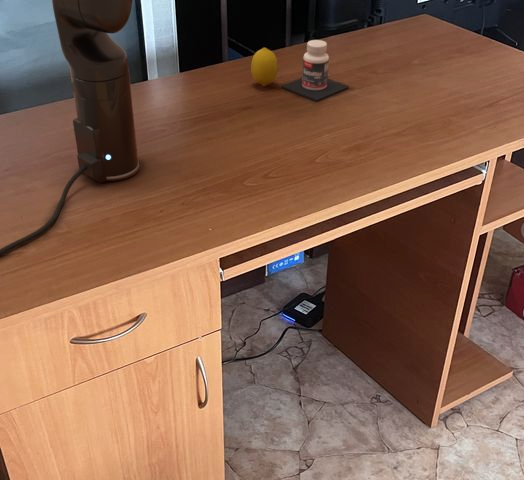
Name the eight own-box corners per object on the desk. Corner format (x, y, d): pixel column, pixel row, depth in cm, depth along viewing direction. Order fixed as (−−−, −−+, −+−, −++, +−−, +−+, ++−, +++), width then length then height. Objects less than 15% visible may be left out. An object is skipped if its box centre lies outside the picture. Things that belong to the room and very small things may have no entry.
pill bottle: (298, 88, 163) (300, 45, 157) (306, 79, 167) (308, 37, 161) (323, 92, 162) (325, 49, 156) (330, 83, 165) (332, 40, 160)
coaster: (316, 101, 159) (316, 99, 159) (281, 87, 164) (281, 85, 164) (348, 88, 164) (348, 86, 164) (313, 75, 170) (313, 73, 170)
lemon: (267, 93, 162) (267, 54, 157) (245, 87, 165) (245, 48, 159) (282, 85, 165) (283, 46, 160) (261, 79, 168) (262, 41, 163)
